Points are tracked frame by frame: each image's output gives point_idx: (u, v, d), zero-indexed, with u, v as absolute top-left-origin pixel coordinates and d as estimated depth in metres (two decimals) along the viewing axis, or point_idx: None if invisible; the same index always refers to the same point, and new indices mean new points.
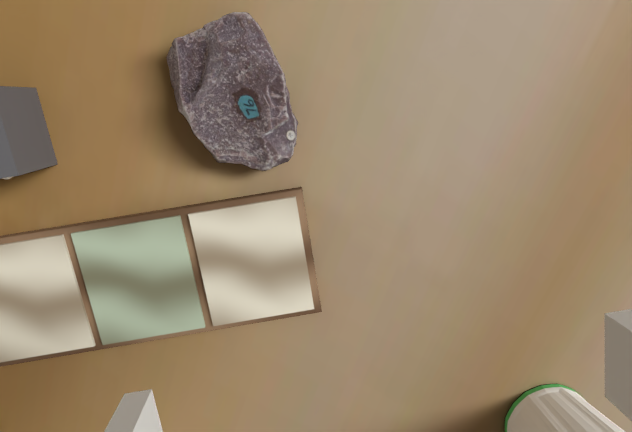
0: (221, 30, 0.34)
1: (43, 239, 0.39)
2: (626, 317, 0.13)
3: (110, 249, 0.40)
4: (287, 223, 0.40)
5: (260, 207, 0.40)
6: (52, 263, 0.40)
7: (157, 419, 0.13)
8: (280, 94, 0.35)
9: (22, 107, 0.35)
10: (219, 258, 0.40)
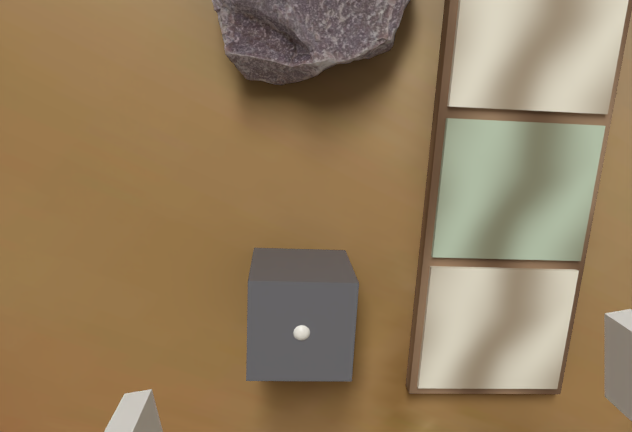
0: None
1: (430, 289, 0.32)
2: (626, 317, 0.13)
3: (465, 216, 0.31)
4: None
5: (466, 2, 0.28)
6: (462, 287, 0.32)
7: (157, 419, 0.13)
8: None
9: (276, 263, 0.29)
10: (519, 80, 0.29)
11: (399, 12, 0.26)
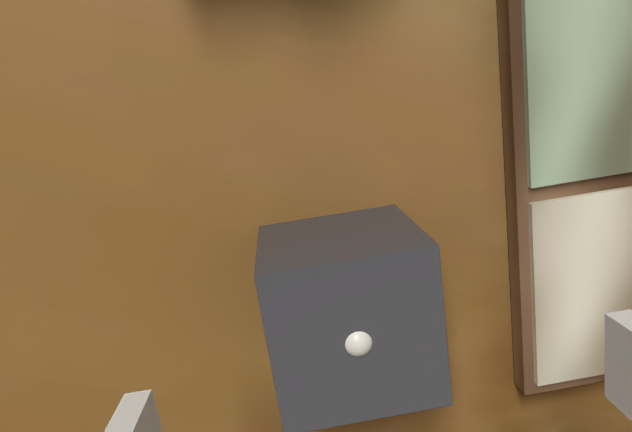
0: None
1: (535, 237, 0.21)
2: (626, 317, 0.13)
3: (572, 115, 0.20)
4: None
5: None
6: (582, 226, 0.21)
7: (157, 419, 0.13)
8: None
9: (295, 240, 0.18)
10: None
11: None
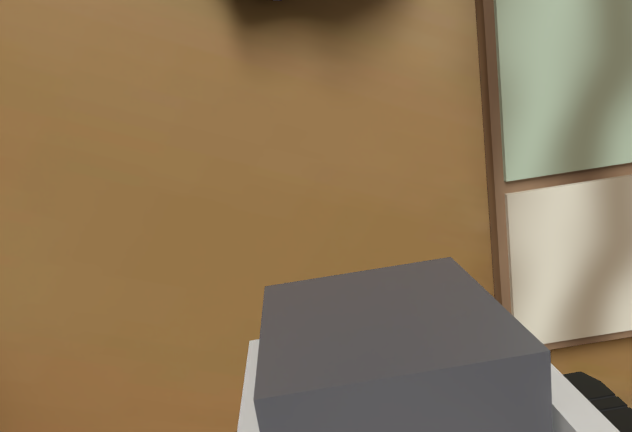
0: None
1: (510, 222, 0.25)
2: None
3: (539, 122, 0.24)
4: None
5: None
6: (550, 213, 0.25)
7: None
8: None
9: (316, 321, 0.13)
10: None
11: None
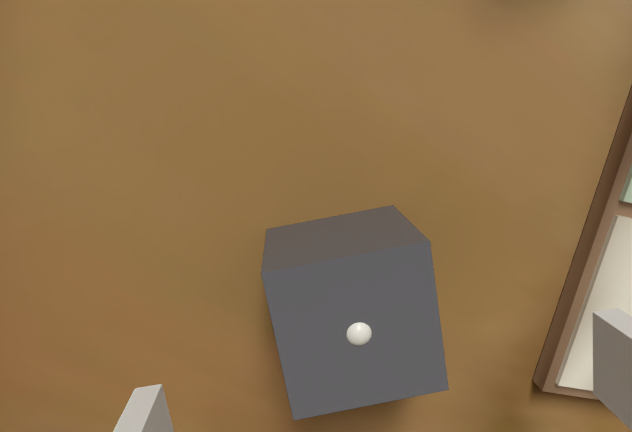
0: None
1: (609, 247, 0.23)
2: (613, 315, 0.14)
3: None
4: None
5: None
6: None
7: (166, 413, 0.14)
8: None
9: (299, 240, 0.20)
10: None
11: None
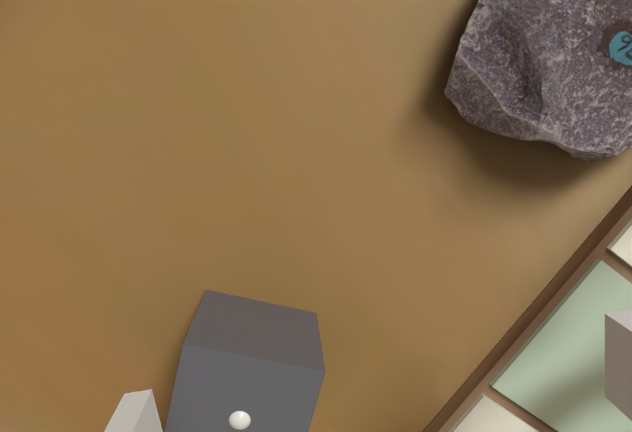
0: None
1: (467, 417, 0.27)
2: (626, 317, 0.13)
3: (549, 365, 0.26)
4: None
5: None
6: None
7: (157, 419, 0.13)
8: None
9: (226, 319, 0.23)
10: None
11: None
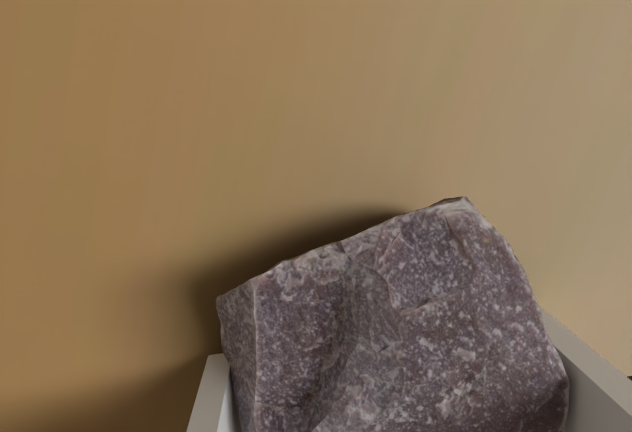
0: (398, 264, 0.11)
1: None
2: None
3: None
4: None
5: None
6: None
7: None
8: None
9: None
10: None
11: None
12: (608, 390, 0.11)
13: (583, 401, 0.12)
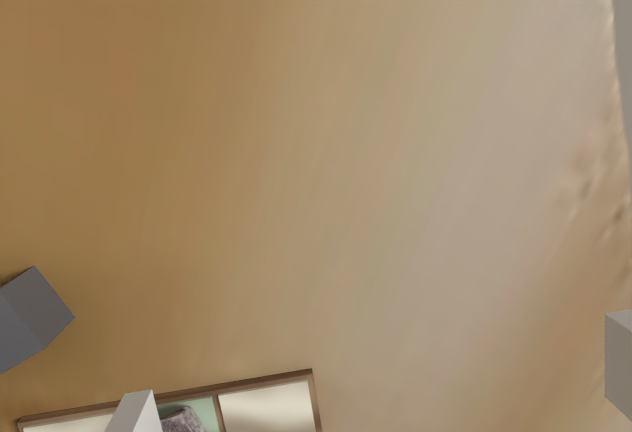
0: None
1: (98, 417, 0.47)
2: (626, 317, 0.13)
3: None
4: (299, 401, 0.48)
5: (278, 389, 0.48)
6: None
7: (157, 419, 0.13)
8: None
9: (28, 290, 0.42)
10: (243, 428, 0.49)
11: None
12: None
13: None
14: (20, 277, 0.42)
